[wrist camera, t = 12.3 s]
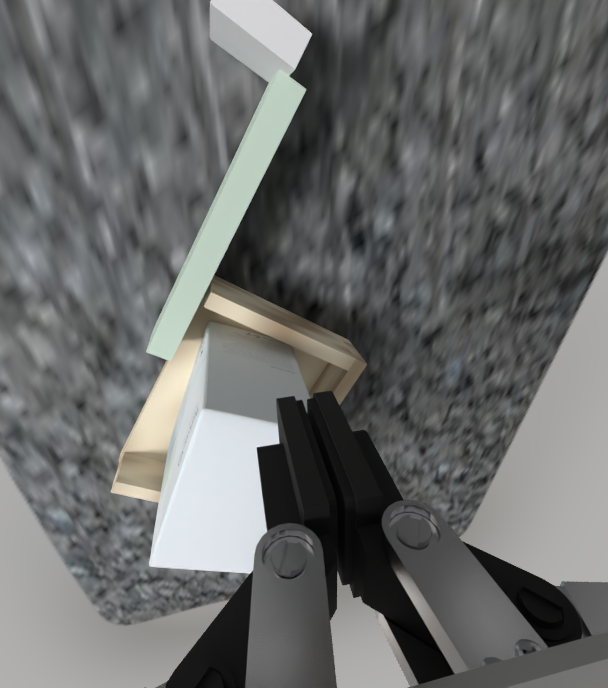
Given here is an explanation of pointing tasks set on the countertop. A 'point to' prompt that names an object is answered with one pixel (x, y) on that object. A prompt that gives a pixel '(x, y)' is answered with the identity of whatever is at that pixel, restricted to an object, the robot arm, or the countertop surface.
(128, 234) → the countertop surface
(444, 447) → the countertop surface
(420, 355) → the countertop surface
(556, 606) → the robot arm
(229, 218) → the gate
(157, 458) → the wooden tray
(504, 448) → the countertop surface
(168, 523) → the skincare box
